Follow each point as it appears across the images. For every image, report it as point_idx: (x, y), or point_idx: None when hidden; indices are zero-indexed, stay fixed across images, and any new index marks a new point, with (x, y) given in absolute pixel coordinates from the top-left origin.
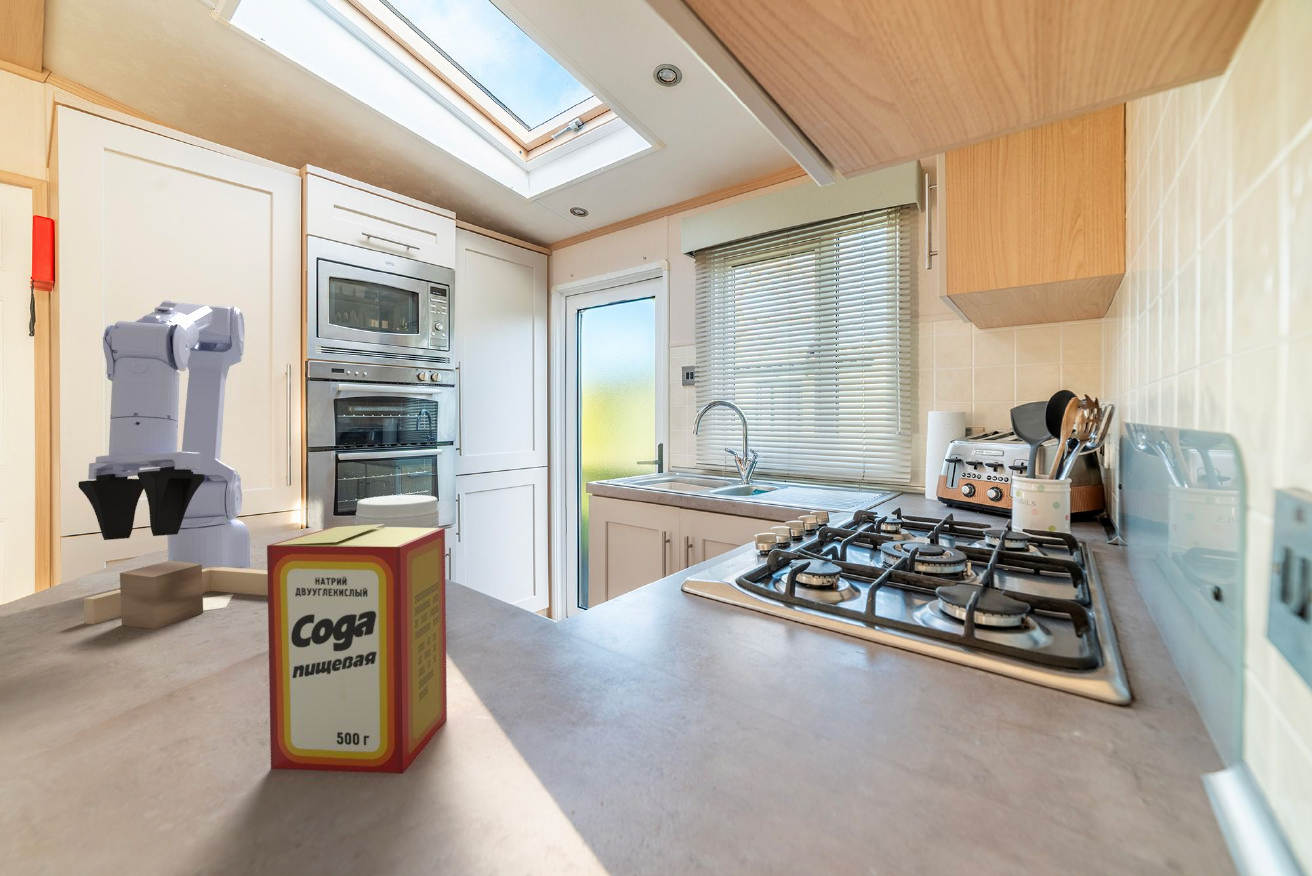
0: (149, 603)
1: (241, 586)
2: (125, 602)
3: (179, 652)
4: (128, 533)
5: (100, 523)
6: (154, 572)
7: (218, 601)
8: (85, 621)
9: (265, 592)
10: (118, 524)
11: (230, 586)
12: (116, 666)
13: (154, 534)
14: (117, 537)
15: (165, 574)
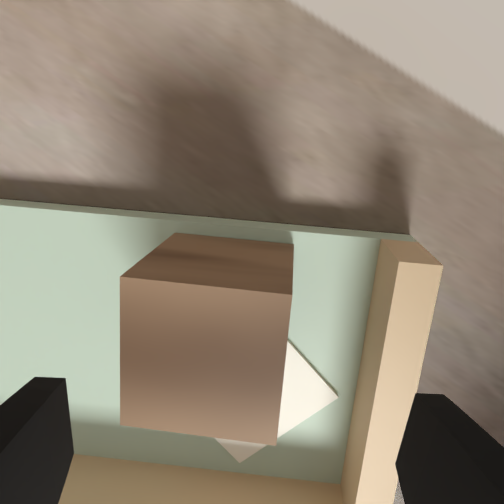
0: (170, 251)
1: (227, 488)
2: (275, 261)
3: (47, 176)
4: (406, 484)
5: (499, 457)
6: (172, 320)
7: None
8: (416, 244)
9: (147, 470)
10: (442, 502)
11: (267, 490)
12: (101, 88)
13: (49, 382)
14: (408, 432)
15: (121, 314)
